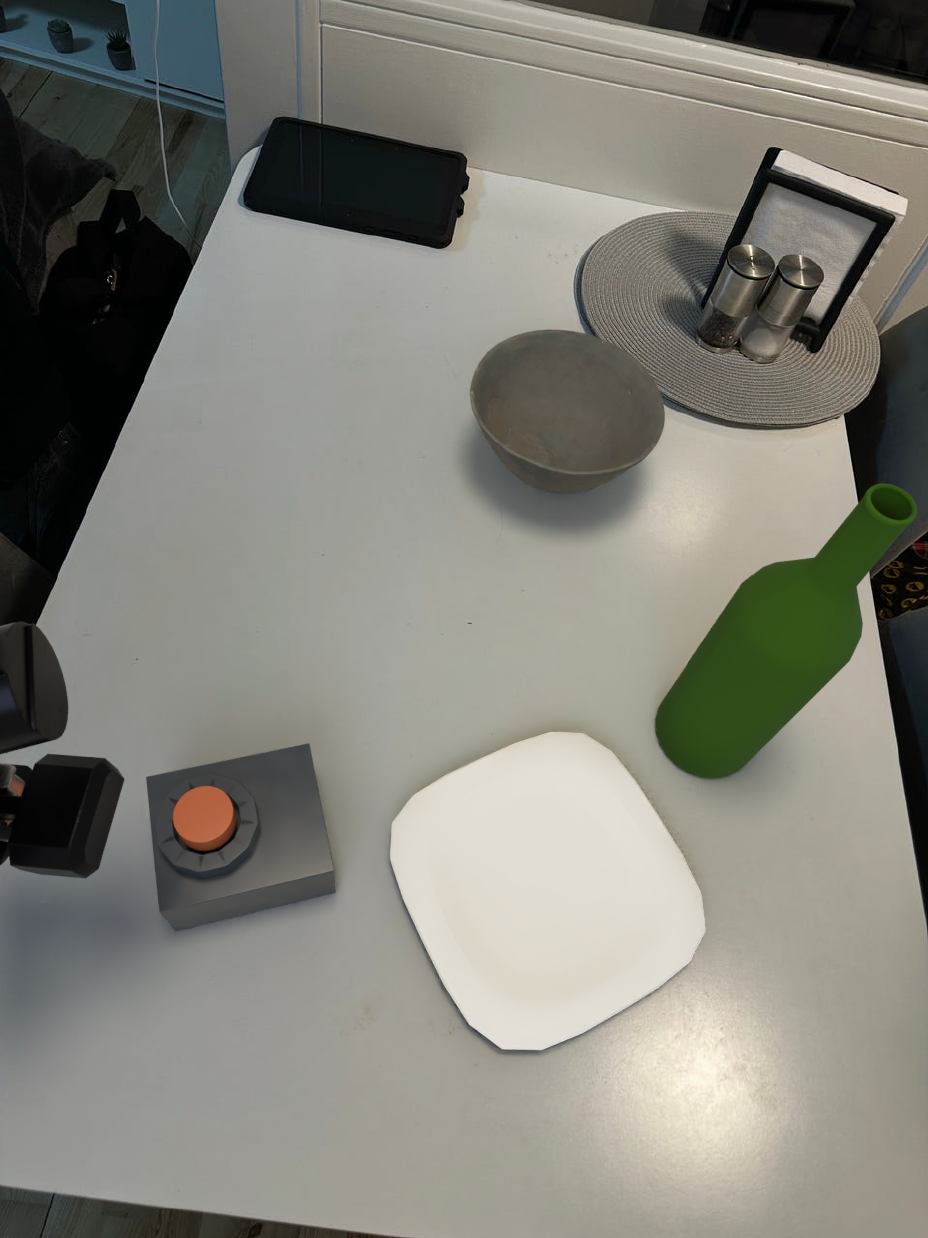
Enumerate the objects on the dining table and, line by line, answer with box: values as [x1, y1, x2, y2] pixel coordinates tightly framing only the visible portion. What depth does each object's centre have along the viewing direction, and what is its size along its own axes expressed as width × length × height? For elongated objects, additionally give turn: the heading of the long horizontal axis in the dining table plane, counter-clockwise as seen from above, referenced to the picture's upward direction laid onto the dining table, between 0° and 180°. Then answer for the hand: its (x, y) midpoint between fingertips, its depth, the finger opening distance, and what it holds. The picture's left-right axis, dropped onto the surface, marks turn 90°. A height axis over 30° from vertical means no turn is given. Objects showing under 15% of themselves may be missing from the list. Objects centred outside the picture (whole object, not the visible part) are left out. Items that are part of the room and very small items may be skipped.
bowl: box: [469, 329, 666, 495], centre depth 88 cm, size 19×19×10 cm
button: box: [173, 786, 237, 851], centre depth 61 cm, size 4×4×2 cm
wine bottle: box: [655, 482, 918, 780], centre depth 64 cm, size 9×9×32 cm
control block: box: [145, 743, 337, 933], centre depth 65 cm, size 12×10×8 cm
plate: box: [389, 731, 707, 1051], centre depth 69 cm, size 22×22×2 cm
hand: (17, 843), depth 56 cm, fingers closed
